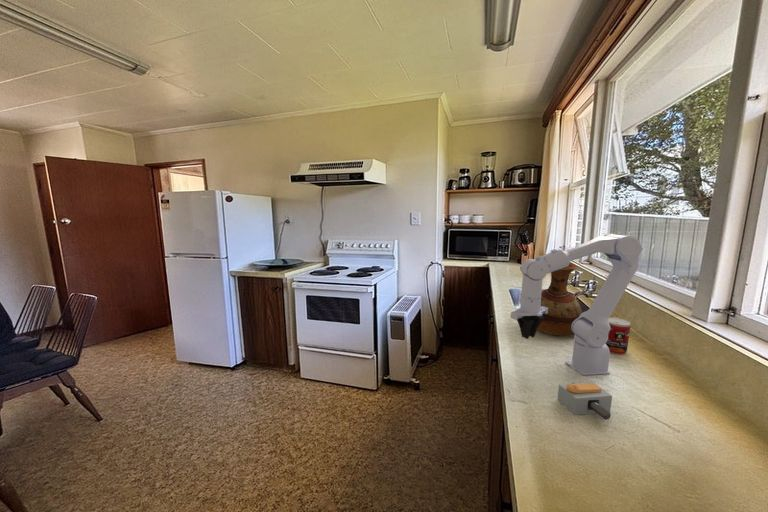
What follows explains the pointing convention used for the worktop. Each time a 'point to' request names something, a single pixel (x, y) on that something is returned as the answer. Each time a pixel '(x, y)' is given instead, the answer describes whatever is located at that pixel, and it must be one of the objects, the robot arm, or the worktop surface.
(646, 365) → the worktop surface
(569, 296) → the brown clay vase
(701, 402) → the worktop surface
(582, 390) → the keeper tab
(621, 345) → the canned food
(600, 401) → the block
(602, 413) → the pin
